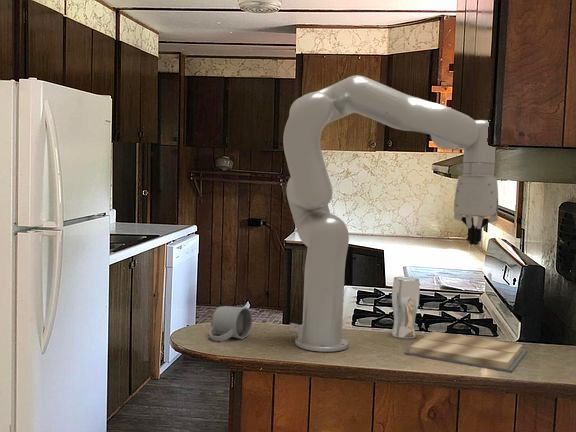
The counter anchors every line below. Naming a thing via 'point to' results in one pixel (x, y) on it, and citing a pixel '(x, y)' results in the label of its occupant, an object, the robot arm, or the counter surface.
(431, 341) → the board
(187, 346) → the counter surface
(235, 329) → the ceramic mug
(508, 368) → the underlay mat
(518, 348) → the loose plank
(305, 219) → the robot arm
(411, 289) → the beer glass
